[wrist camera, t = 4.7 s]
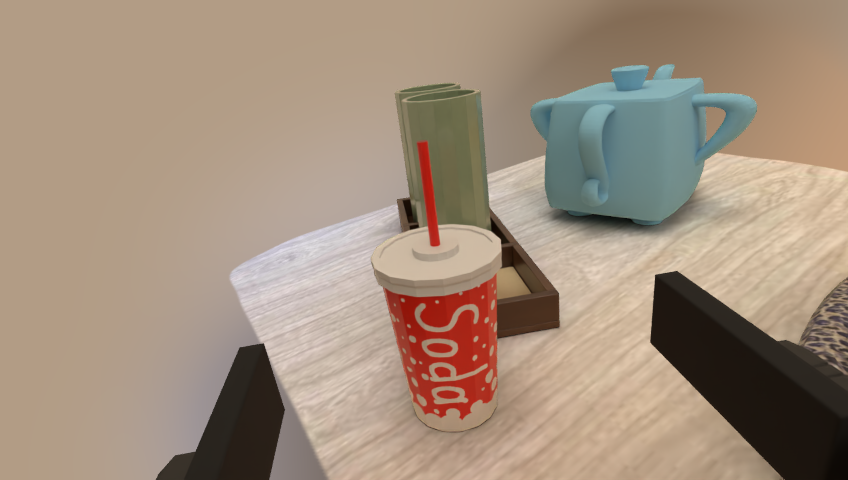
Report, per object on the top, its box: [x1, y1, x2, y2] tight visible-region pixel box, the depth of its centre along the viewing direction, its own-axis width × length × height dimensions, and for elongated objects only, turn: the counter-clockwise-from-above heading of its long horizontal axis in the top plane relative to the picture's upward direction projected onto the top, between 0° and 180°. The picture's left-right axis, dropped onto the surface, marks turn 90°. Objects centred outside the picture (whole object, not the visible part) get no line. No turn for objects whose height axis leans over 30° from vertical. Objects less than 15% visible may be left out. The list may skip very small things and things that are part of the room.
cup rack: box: [397, 197, 560, 338], centre depth 40 cm, size 25×9×2 cm, turn 7°
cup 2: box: [401, 89, 491, 231], centre depth 38 cm, size 6×6×14 cm
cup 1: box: [395, 83, 460, 223], centre depth 46 cm, size 6×6×14 cm
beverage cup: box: [371, 140, 502, 432], centre depth 22 cm, size 6×6×14 cm
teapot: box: [531, 64, 757, 225], centre depth 46 cm, size 18×16×14 cm
